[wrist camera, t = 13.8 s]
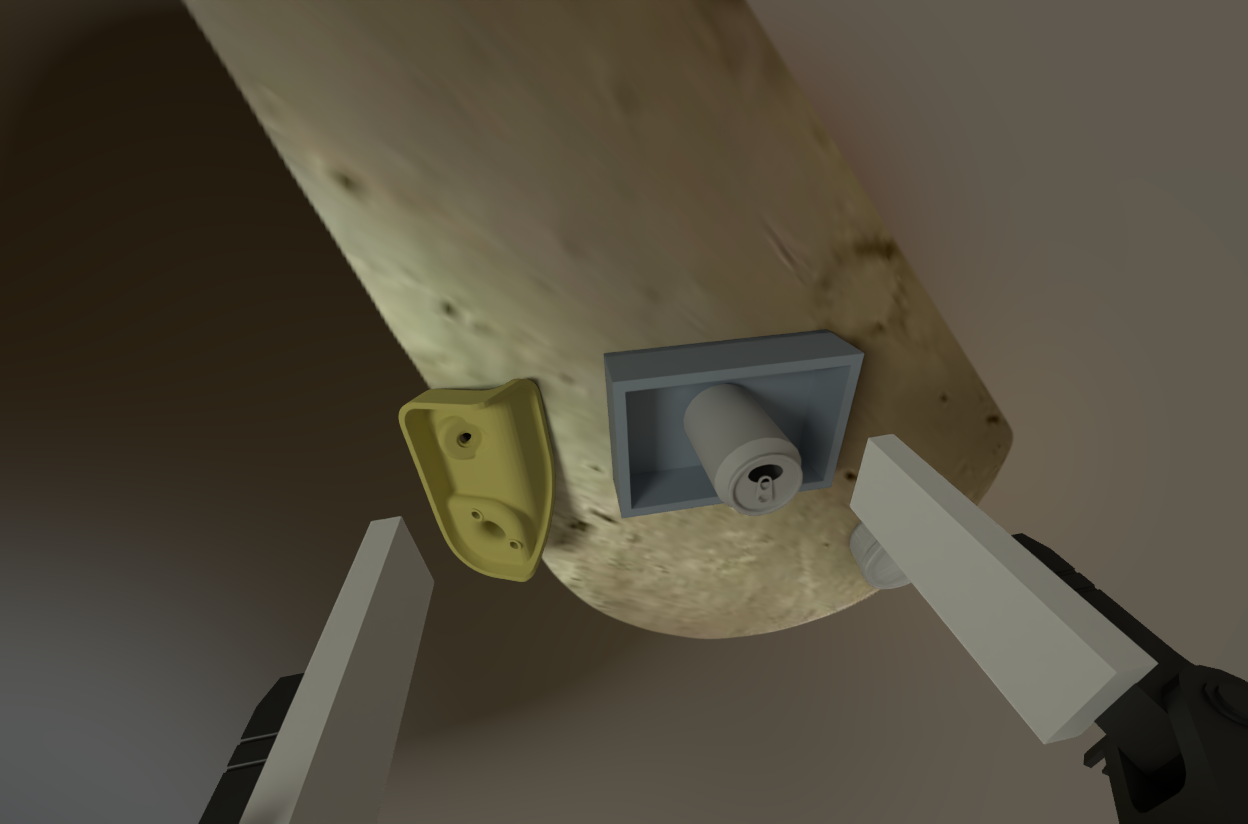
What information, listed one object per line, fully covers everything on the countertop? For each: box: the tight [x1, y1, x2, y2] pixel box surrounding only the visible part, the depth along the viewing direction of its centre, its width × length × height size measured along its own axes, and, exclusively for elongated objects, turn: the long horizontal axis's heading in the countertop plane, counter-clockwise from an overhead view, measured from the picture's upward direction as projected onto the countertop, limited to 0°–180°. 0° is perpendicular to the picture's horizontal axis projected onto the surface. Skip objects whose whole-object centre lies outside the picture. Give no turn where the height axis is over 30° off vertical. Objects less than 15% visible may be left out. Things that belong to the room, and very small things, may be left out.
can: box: [683, 384, 803, 516], centre depth 40 cm, size 8×8×12 cm
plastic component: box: [399, 379, 555, 582], centre depth 44 cm, size 20×7×10 cm
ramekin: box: [850, 521, 912, 589], centre depth 58 cm, size 11×11×5 cm
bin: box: [604, 329, 864, 518], centre depth 43 cm, size 15×22×6 cm
